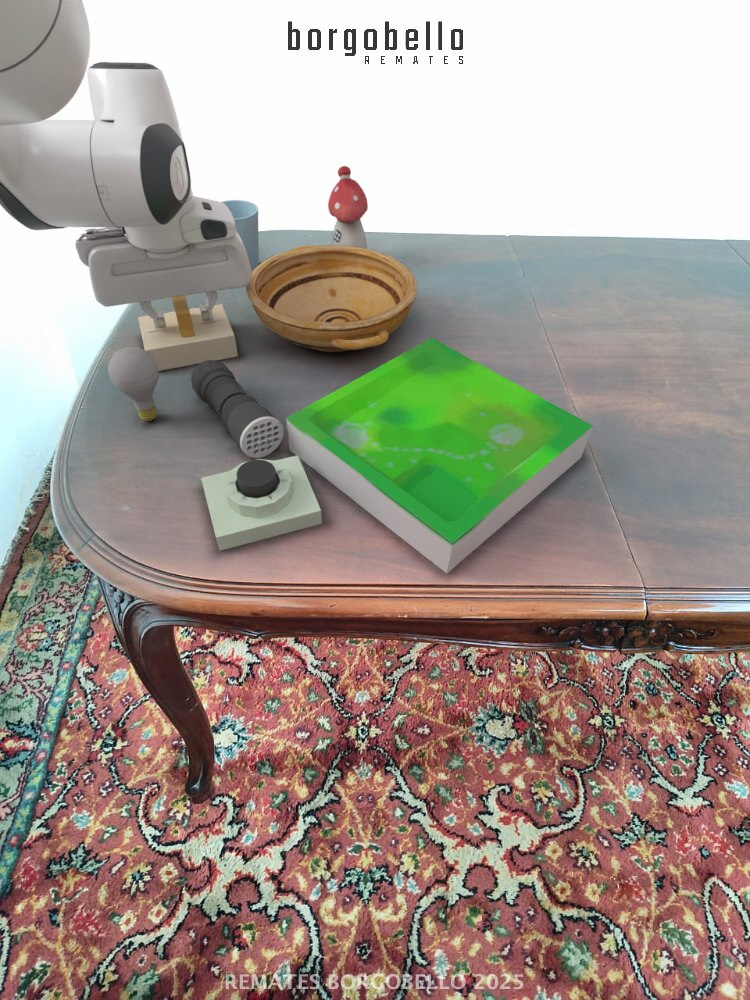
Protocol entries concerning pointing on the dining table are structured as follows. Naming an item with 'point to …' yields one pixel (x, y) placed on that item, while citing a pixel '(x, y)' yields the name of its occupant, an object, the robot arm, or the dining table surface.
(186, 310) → the lock knob
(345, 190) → the decorative ornament
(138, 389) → the light bulb
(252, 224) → the cup
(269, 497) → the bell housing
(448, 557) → the tray
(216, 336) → the plate
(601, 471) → the dining table surface
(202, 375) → the flashlight
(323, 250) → the ceramic bowl
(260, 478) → the bell button
